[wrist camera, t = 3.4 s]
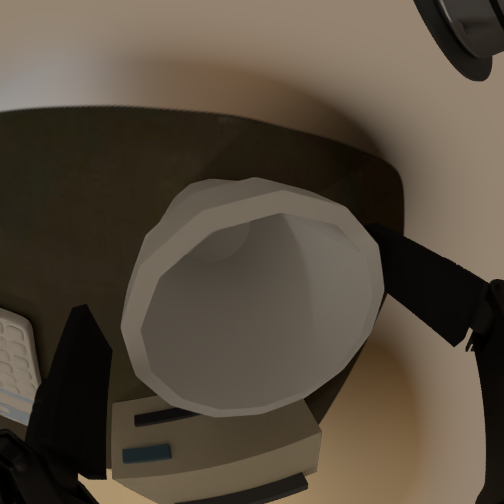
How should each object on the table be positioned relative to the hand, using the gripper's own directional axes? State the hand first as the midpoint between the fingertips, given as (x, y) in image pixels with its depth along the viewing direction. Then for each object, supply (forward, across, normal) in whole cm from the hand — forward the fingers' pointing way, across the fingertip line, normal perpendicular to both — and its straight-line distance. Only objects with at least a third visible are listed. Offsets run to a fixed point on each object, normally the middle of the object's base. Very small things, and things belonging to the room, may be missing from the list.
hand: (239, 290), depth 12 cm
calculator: (+10, -29, -9) cm, 32 cm away
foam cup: (+10, 0, 0) cm, 10 cm away
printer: (+10, -6, -24) cm, 26 cm away
